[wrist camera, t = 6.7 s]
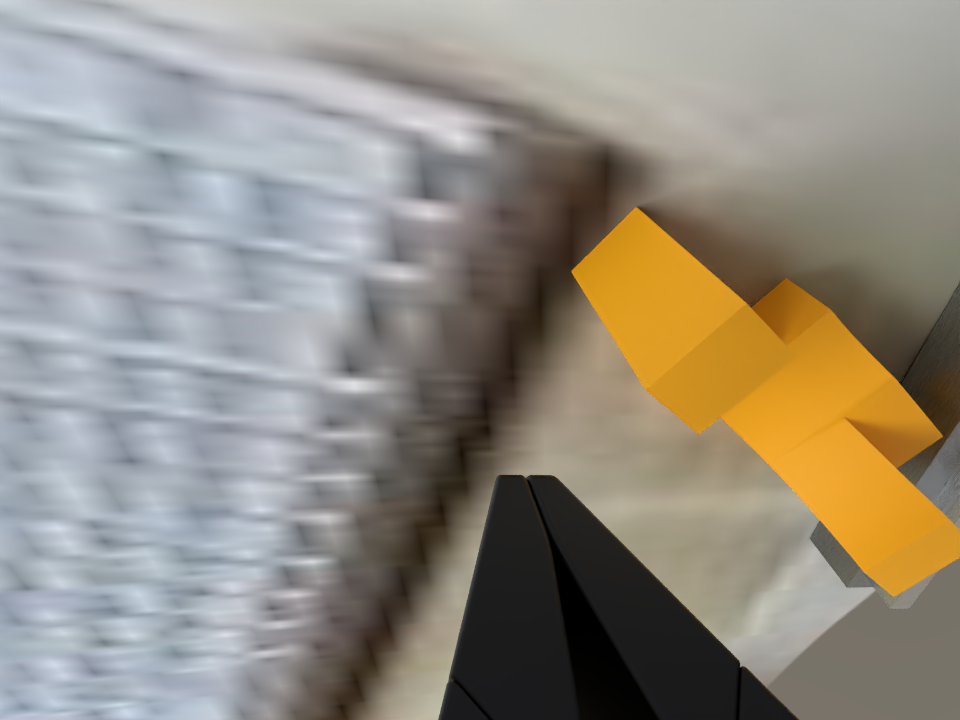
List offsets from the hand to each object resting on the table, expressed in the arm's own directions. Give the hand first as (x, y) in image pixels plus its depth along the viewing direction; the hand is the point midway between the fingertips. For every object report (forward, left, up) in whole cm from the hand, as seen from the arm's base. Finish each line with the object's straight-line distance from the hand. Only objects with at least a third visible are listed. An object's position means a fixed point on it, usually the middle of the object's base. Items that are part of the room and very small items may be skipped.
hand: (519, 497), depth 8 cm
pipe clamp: (-2, -10, -10) cm, 14 cm away
